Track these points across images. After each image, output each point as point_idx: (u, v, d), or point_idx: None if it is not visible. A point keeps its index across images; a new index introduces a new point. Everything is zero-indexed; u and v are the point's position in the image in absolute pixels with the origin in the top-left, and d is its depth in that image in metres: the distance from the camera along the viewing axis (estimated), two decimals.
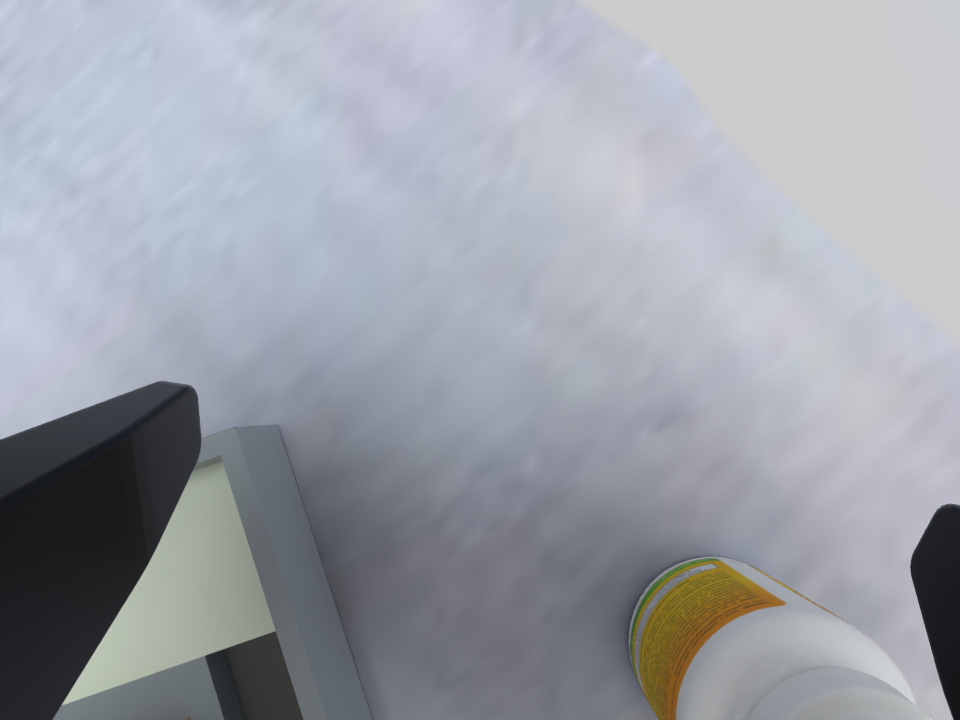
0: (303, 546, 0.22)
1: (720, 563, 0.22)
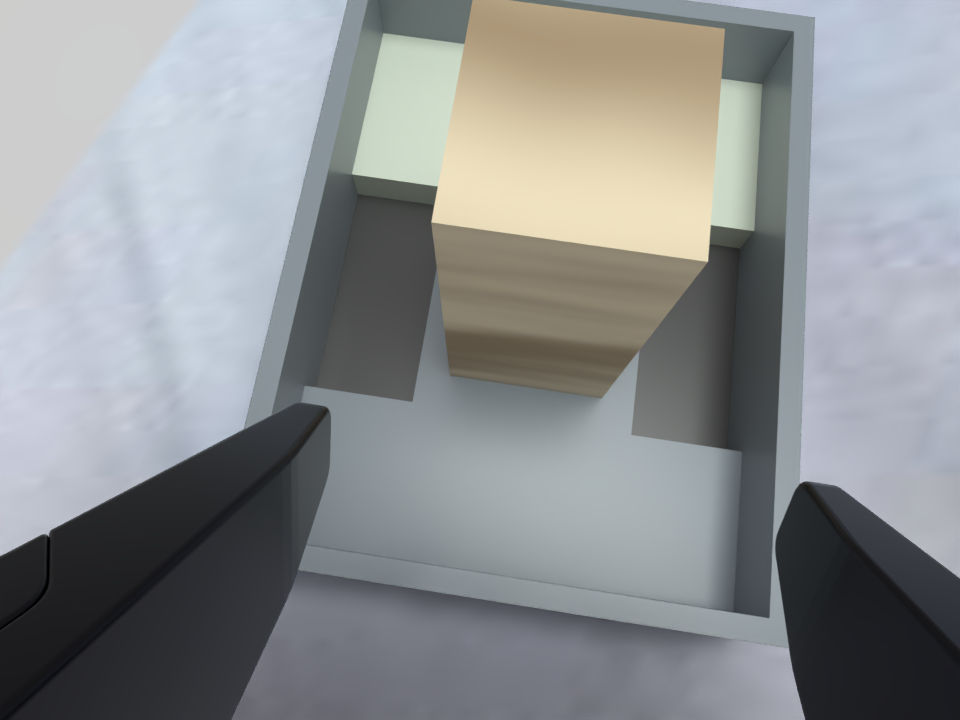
0: None
1: None
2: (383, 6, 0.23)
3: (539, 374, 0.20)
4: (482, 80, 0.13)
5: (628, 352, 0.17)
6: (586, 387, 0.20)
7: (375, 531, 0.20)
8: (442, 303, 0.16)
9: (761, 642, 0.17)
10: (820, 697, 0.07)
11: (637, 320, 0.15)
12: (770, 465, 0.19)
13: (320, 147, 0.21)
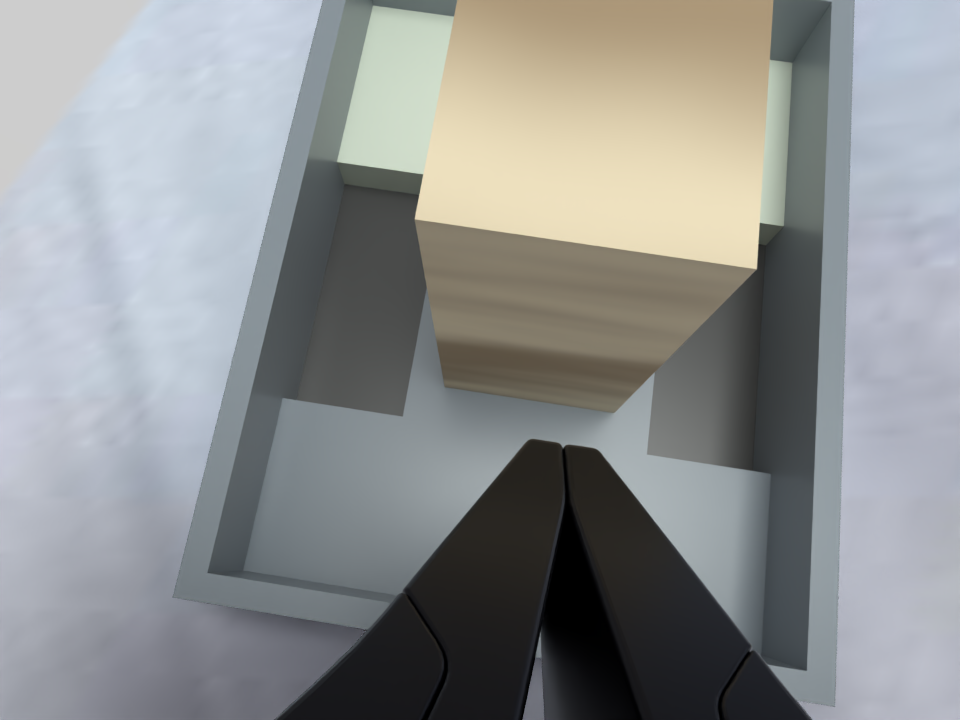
0: None
1: None
2: None
3: (544, 388, 0.18)
4: (478, 45, 0.10)
5: (648, 367, 0.15)
6: (597, 402, 0.18)
7: (360, 562, 0.18)
8: (432, 312, 0.13)
9: (797, 699, 0.15)
10: (549, 652, 0.07)
11: (661, 334, 0.13)
12: (806, 493, 0.17)
13: (298, 131, 0.18)
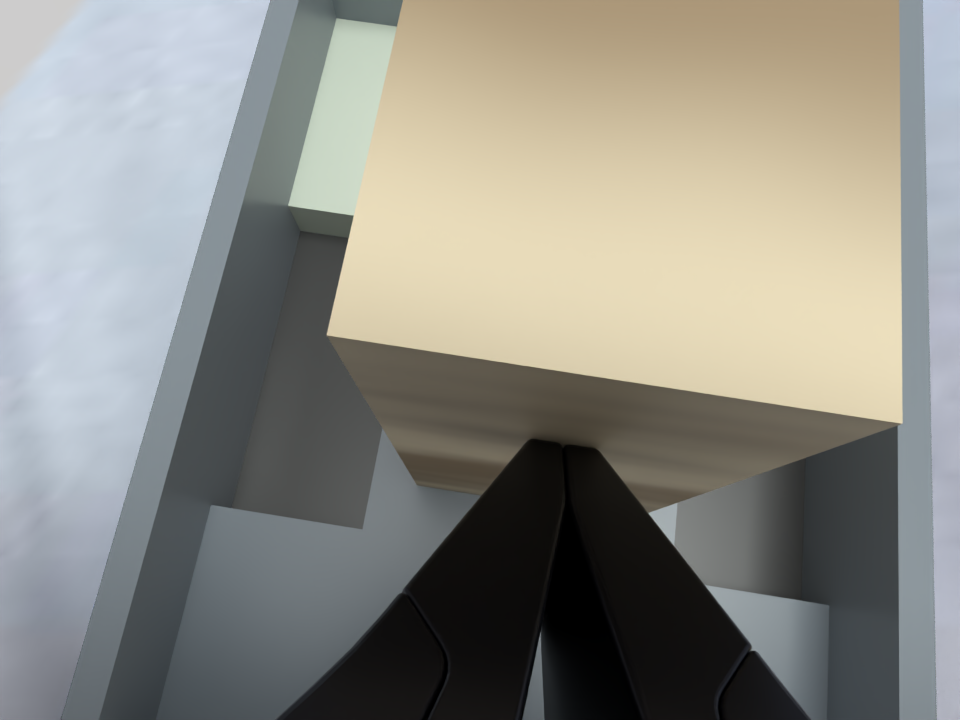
0: None
1: None
2: None
3: None
4: (439, 50, 0.07)
5: (684, 493, 0.11)
6: None
7: None
8: (384, 428, 0.09)
9: None
10: (549, 652, 0.07)
11: (713, 470, 0.09)
12: (887, 651, 0.13)
13: (231, 171, 0.15)
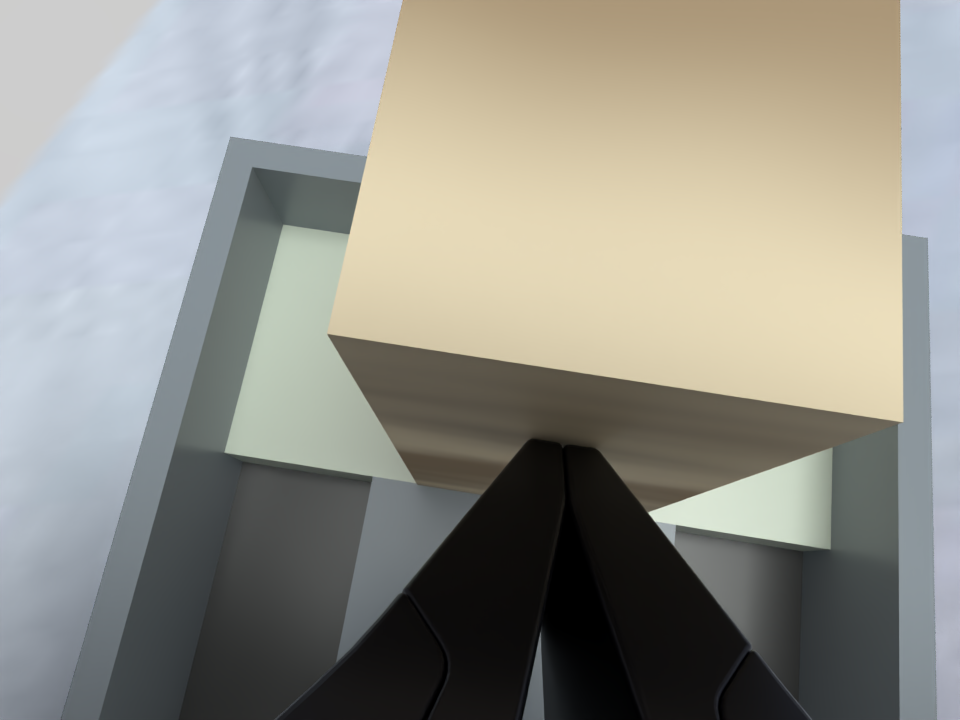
0: None
1: None
2: (275, 199, 0.16)
3: None
4: (439, 48, 0.07)
5: (684, 493, 0.11)
6: None
7: None
8: (385, 427, 0.09)
9: None
10: (548, 652, 0.07)
11: (713, 469, 0.09)
12: None
13: (148, 463, 0.13)
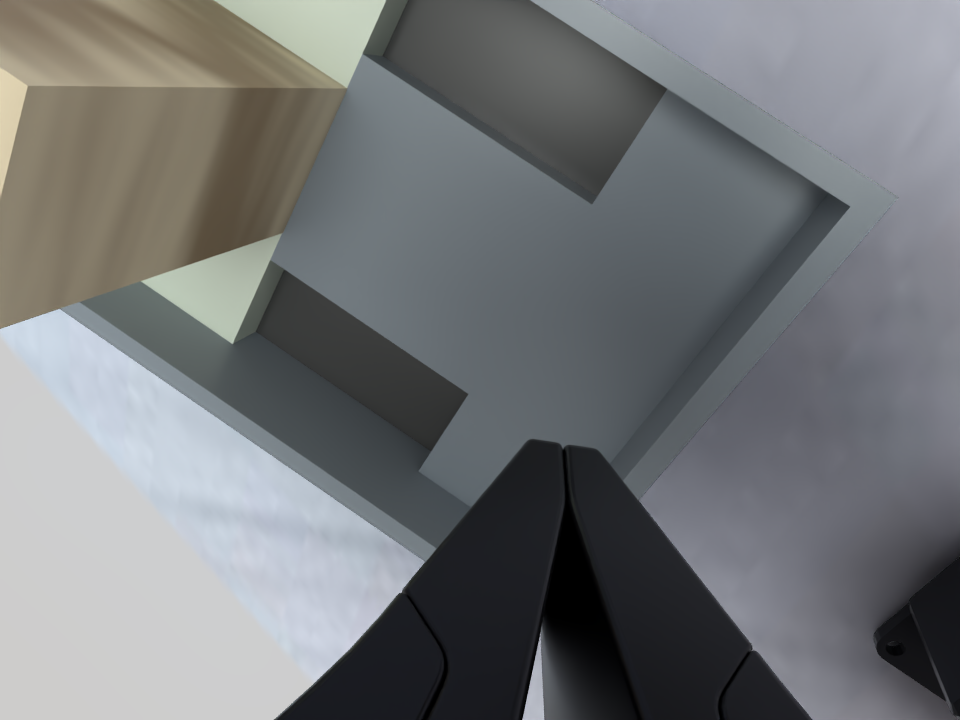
0: None
1: None
2: None
3: (287, 160, 0.18)
4: None
5: (242, 96, 0.15)
6: (320, 110, 0.18)
7: None
8: (131, 283, 0.15)
9: (868, 230, 0.14)
10: (549, 652, 0.07)
11: (169, 110, 0.13)
12: None
13: (195, 395, 0.21)
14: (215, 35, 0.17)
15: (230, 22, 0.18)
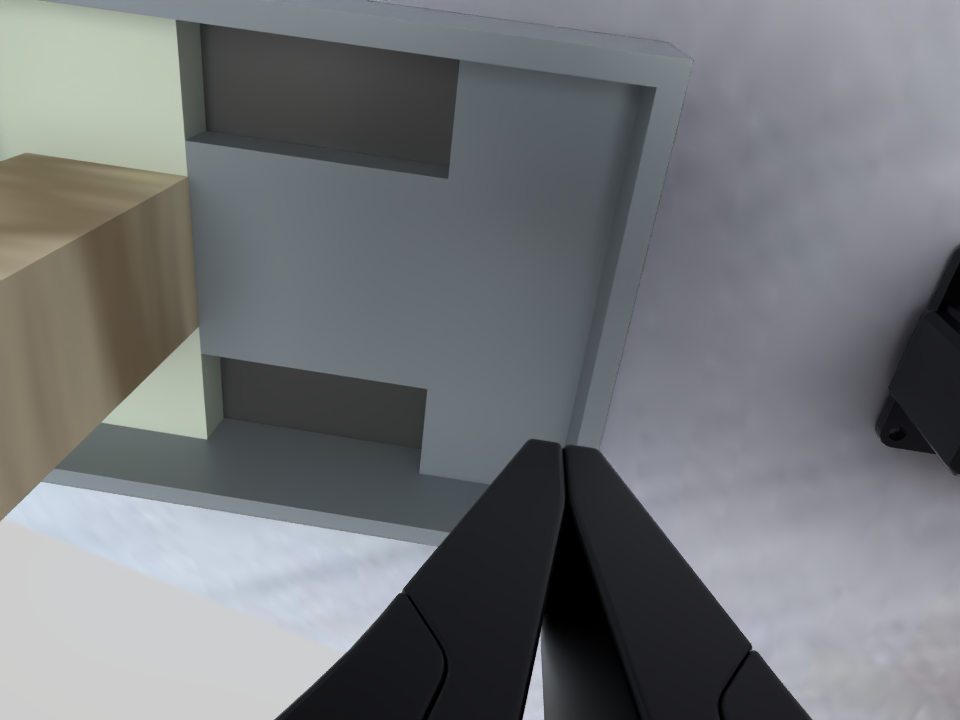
0: None
1: None
2: None
3: (166, 266, 0.19)
4: None
5: (89, 240, 0.16)
6: (172, 209, 0.19)
7: (549, 418, 0.22)
8: (78, 443, 0.16)
9: (682, 100, 0.15)
10: (549, 652, 0.07)
11: (26, 290, 0.14)
12: None
13: (193, 500, 0.22)
14: (44, 192, 0.17)
15: (55, 169, 0.19)
